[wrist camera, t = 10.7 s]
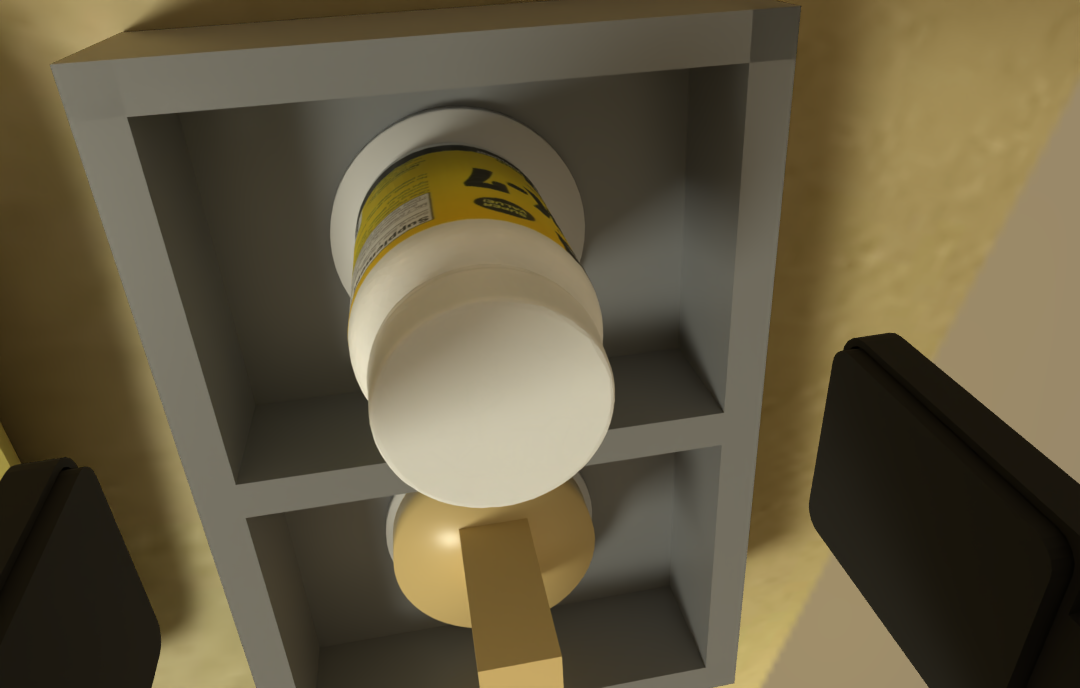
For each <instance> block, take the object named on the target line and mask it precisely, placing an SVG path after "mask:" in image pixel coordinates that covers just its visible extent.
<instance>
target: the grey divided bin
mask: <svg viewBox="0 0 1080 688" xmlns="http://www.w3.org/2000/svg"><path fill="white" fill-rule="evenodd" d="M800 12H801V6H799V5H794V4H790V3H785V2H780V1H775V0H552V1H538V2H525V3H511V4H498V5H484V6H470V7H457V8H443V9H430V10H416V11H403V12H389V13H376V14H362V15H349V16H335V17H321V18H308V19H294V20H281V21H267V22H254V23H240V24H227V25H213V26H199V27H186V28H172V29H159V30H145V31H132V32H121V33H119V34H116V35H114V36H112V37H110V38H107V39H105V40H103V41H101V42H99V43H96V44H94V45H92V46H90V47H87V48H85V49H83V50H81V51H79V52H76V53H74V54H72V55H70V56H67V57H65V58H63V59H61V60H59V61H56V62H54V63H52V64H50V67H51V70H52V73H53V76H54V79H55V82H56V85H57V88H58V91H59V94H60V97H61V100H62V103H63V106H64V109H65V112H66V115H67V118H68V121H69V124H70V127H71V130H72V133H73V136H74V139H75V142H76V145H77V148H78V151H79V154H80V157H81V160H82V163H83V167H84V170H85V173H86V176H87V179H88V182H89V185H90V188H91V191H92V194H93V197H94V200H95V203H96V206H97V209H98V212H99V215H100V218H101V221H102V224H103V227H104V230H105V233H106V236H107V239H108V242H109V245H110V248H111V251H112V254H113V257H114V260H115V263H116V266H117V269H118V272H119V275H120V278H121V281H122V284H123V287H124V290H125V293H126V296H127V299H128V302H129V305H130V308H131V311H132V314H133V317H134V320H135V323H136V326H137V329H138V332H139V335H140V338H141V341H142V344H143V347H144V350H145V354H146V357H147V360H148V363H149V366H150V369H151V372H152V375H153V378H154V381H155V384H156V387H157V390H158V393H159V396H160V399H161V402H162V405H163V408H164V411H165V414H166V417H167V420H168V423H169V426H170V429H171V432H172V435H173V438H174V441H175V444H176V447H177V450H178V453H179V456H180V459H181V462H182V465H183V468H184V471H185V474H186V477H187V480H188V483H189V486H190V489H191V492H192V495H193V498H194V501H195V504H196V507H197V510H198V513H199V516H200V519H201V522H202V525H203V528H204V531H205V534H206V537H207V541H208V544H209V547H210V550H211V553H212V556H213V559H214V562H215V565H216V568H217V571H218V574H219V577H220V580H221V583H222V586H223V589H224V592H225V595H226V598H227V601H228V604H229V607H230V610H231V613H232V616H233V619H234V622H235V625H236V628H237V631H238V634H239V637H240V640H241V643H242V646H243V649H244V652H245V655H246V658H247V661H248V664H249V667H250V670H251V673H252V676H253V679H254V682H255V685H256V688H713V687H718V686H723V685H728V684H733V683H734V681H735V671H736V661H737V651H738V640H739V630H740V620H741V610H742V600H743V590H744V580H745V569H746V559H747V549H748V539H749V529H750V519H751V509H752V499H753V488H754V478H755V468H756V458H757V448H758V438H759V428H760V418H761V407H762V397H763V387H764V377H765V367H766V357H767V347H768V336H769V326H770V316H771V306H772V296H773V286H774V276H775V266H776V255H777V245H778V235H779V225H780V215H781V205H782V195H783V185H784V174H785V164H786V154H787V144H788V134H789V124H790V114H791V103H792V93H793V83H794V73H795V63H796V53H797V43H798V33H799V22H800ZM449 142H456V143H466V144H472V145H476V146H479V147H482V148H485V149H488V150H491V151H493V152H495V153H497V154H499V155H501V156H503V157H504V158H506V159H507V160H509V161H510V162H512V163H513V164H514V165H515V166H517V167H518V168H519V169H520V170H521V171H522V172H523V173H524V174H525V175H526V176H527V177H528V178H529V180H530V181H531V182H532V183H533V185H534V186H535V187H536V189H537V190H538V192H539V194H540V196H541V197H542V199H543V201H544V202H545V204H546V206H547V208H548V209H549V211H550V213H551V215H552V216H553V218H554V219H555V221H556V223H557V225H558V226H559V228H560V230H561V231H562V233H563V235H564V237H565V239H566V240H567V242H568V244H569V245H570V247H571V249H572V251H573V252H574V254H575V255H576V257H577V259H578V261H579V262H580V264H581V265H582V267H583V268H584V269H585V272H586V274H587V276H588V278H589V279H590V281H591V284H592V286H593V288H594V290H595V293H596V296H597V299H598V302H599V306H600V310H601V314H602V322H603V347H604V350H605V352H606V355H607V357H608V360H609V363H610V366H611V368H612V372H613V377H614V384H615V403H614V410H613V415H612V419H611V423H610V426H609V428H608V431H607V433H606V435H605V437H604V439H603V441H602V443H601V445H600V446H599V448H598V450H597V451H596V452H595V454H594V455H593V456H592V458H591V459H590V460H589V462H588V463H587V464H586V465H585V466H584V467H583V468H582V469H581V470H579V471H578V472H577V473H576V474H575V475H574V476H573V477H571V478H570V479H569V480H567V481H566V482H565V483H563V484H561V485H560V486H558V487H557V488H555V489H553V490H551V491H549V492H547V493H545V494H543V495H541V496H539V497H537V498H534V499H531V500H528V501H525V502H521V503H518V504H514V505H509V506H502V507H488V508H470V507H464V506H456V505H451V504H447V503H444V502H440V501H437V500H435V499H432V498H430V497H428V496H426V495H424V494H422V493H420V492H418V491H417V490H415V489H414V488H413V487H411V486H409V485H407V484H406V483H405V482H404V481H402V480H401V479H400V478H399V477H398V476H397V475H396V474H395V473H394V472H393V470H392V469H391V468H390V467H389V466H388V464H387V463H386V461H385V460H384V458H383V457H382V455H381V454H380V452H379V450H378V448H377V446H376V444H375V441H374V438H373V434H372V431H371V427H370V421H369V412H368V400H367V399H366V397H365V396H364V394H363V392H362V390H361V388H360V386H359V384H358V382H357V379H356V377H355V374H354V370H353V367H352V364H351V359H350V352H349V345H348V321H349V310H350V298H351V285H352V272H353V258H354V246H355V231H356V224H357V218H358V213H359V210H360V206H361V204H362V201H363V199H364V197H365V195H366V193H367V191H368V189H369V187H370V186H371V185H372V183H373V182H374V180H375V179H376V178H377V177H378V176H379V174H380V173H381V172H382V171H383V170H384V169H385V168H386V167H388V166H389V165H390V164H391V163H392V162H394V161H395V160H397V159H398V158H399V157H401V156H403V155H405V154H407V153H409V152H411V151H413V150H415V149H418V148H421V147H424V146H428V145H432V144H437V143H449Z"/></svg>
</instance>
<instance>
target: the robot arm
mask: <svg viewBox="0 0 1080 688" xmlns="http://www.w3.org/2000/svg"><path fill="white" fill-rule="evenodd" d="M809 512H810V517H811V520H812V523H813V525H814V527H815V529H816V531H817V532H818V534H819V535H820V536H821V538H822V539H823V541H824V542H825V543H826V545H827V546H828V547H829V549H830V550H831V552H832V553H833V554H834V556H835V557H836V559H837V560H838V561H839V563H840V564H841V565H842V567H843V568H844V570H845V571H846V573H847V574H848V575H849V576H850V578H851V580H852V581H853V582H854V584H855V585H856V587H857V588H858V589H859V591H860V592H861V593H862V595H863V596H864V598H865V599H866V600H867V602H868V603H869V605H870V606H871V607H872V609H873V610H874V612H875V613H876V614H877V616H878V617H879V619H880V620H881V621H882V623H883V624H884V626H885V627H886V628H887V630H888V631H889V633H890V634H891V635H892V637H893V638H894V640H895V641H896V642H897V644H898V645H899V646H900V648H901V649H902V651H903V652H904V653H905V655H906V656H907V658H908V659H909V660H910V662H911V663H912V665H913V666H914V667H915V669H916V670H917V671H918V673H919V674H920V676H921V677H922V679H923V680H924V681H925V683H926V684H927V686H928V687H929V688H1080V484H1079V483H1077V482H1076V481H1075V480H1074V479H1073V478H1071V477H1070V476H1069V475H1068V474H1067V473H1065V472H1064V471H1063V470H1062V469H1061V468H1059V467H1058V466H1057V465H1056V464H1054V463H1053V462H1052V461H1051V460H1050V459H1048V458H1047V457H1046V456H1045V455H1044V454H1042V453H1041V452H1040V451H1039V450H1038V449H1036V448H1035V447H1034V446H1033V445H1032V444H1030V443H1029V442H1028V441H1026V440H1025V439H1024V438H1023V437H1022V436H1021V435H1019V434H1018V433H1017V432H1016V431H1015V430H1013V429H1012V428H1011V427H1010V426H1008V425H1007V424H1006V423H1005V422H1004V421H1002V420H1001V419H1000V418H999V417H998V416H996V415H995V414H994V413H993V412H992V411H990V410H989V409H988V408H987V407H985V406H984V405H983V404H982V403H981V402H979V401H978V400H977V399H976V398H975V397H973V396H972V395H971V394H970V393H969V392H967V391H966V390H965V389H964V388H963V387H961V386H960V385H959V384H958V383H957V382H955V381H954V380H953V379H952V378H951V377H949V376H948V375H947V374H946V373H944V372H943V371H942V370H941V369H940V368H938V367H937V366H936V365H935V364H934V363H932V362H931V361H930V360H929V359H928V358H926V357H925V356H924V355H923V354H921V353H920V352H919V351H918V350H917V349H915V348H914V347H913V346H912V345H911V344H909V343H908V342H907V341H906V340H905V339H903V338H902V337H901V336H899V335H897V334H896V333H885V334H878V335H872V336H865V337H858V338H853V339H851V340H849V341H848V342H847V343H846V345H845V346H844V350H843V351H840V352H838V353H837V354H836V355H835V357H834V360H833V364H832V370H831V376H830V382H829V388H828V393H827V399H826V405H825V411H824V417H823V423H822V429H821V435H820V441H819V447H818V453H817V459H816V465H815V471H814V477H813V482H812V488H811V494H810V500H809ZM160 649H161V634H160V628H159V624H158V621H157V618H156V616H155V614H154V611H153V609H152V607H151V604H150V602H149V600H148V597H147V595H146V592H145V590H144V588H143V585H142V583H141V581H140V578H139V576H138V574H137V571H136V569H135V566H134V564H133V562H132V559H131V557H130V555H129V552H128V550H127V548H126V545H125V543H124V540H123V538H122V536H121V533H120V531H119V529H118V526H117V524H116V522H115V519H114V517H113V514H112V512H111V510H110V507H109V505H108V503H107V500H106V498H105V496H104V493H103V491H102V489H101V486H100V484H99V481H98V479H97V477H96V475H95V473H94V471H93V470H92V469H91V468H89V467H80V468H78V467H77V465H76V463H75V462H74V461H73V460H72V459H70V458H66V457H63V458H57V459H50V460H44V461H37V462H30V463H24V464H17V465H14V466H11V467H10V468H9V469H8V470H7V471H6V472H5V474H4V475H3V477H2V479H1V480H0V688H152V684H153V680H154V676H155V672H156V667H157V663H158V659H159V655H160Z"/></svg>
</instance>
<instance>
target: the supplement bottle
mask: <svg viewBox="0 0 1080 688" xmlns="http://www.w3.org/2000/svg"><path fill="white" fill-rule="evenodd" d="M348 345H349V352H350V359H351V364H352V367H353V370H354V374H355V377H356V379H357V382H358V384H359V386H360V388H361V390H362V392H363V394H364V396H365V397H366V399H367V400H368V412H369V421H370V427H371V431H372V434H373V438H374V441H375V444H376V446H377V448H378V450H379V452H380V454H381V455H382V457H383V458H384V460H385V461H386V463H387V464H388V466H389V467H390V468H391V469H392V470H393V472H394V473H395V474H396V475H397V476H398V477H399V478H400V479H401V480H402V481H404V482H405V483H406V484H407V485H409V486H411V487H413V488H414V489H415V490H417V491H418V492H420V493H422V494H424V495H426V496H428V497H430V498H432V499H435V500H437V501H440V502H444V503H447V504H451V505H456V506H464V507H470V508H488V507H502V506H509V505H514V504H518V503H521V502H525V501H528V500H531V499H534V498H537V497H539V496H541V495H543V494H545V493H547V492H549V491H551V490H553V489H555V488H557V487H558V486H560V485H561V484H563V483H565V482H566V481H567V480H569V479H570V478H571V477H573V476H574V475H575V474H576V473H577V472H578V471H579V470H581V469H582V468H583V467H584V466H585V465H586V464H587V463H588V462H589V460H590V459H591V458H592V456H593V455H594V454H595V452H596V451H597V450H598V448H599V446H600V445H601V443H602V441H603V439H604V437H605V435H606V433H607V431H608V428H609V426H610V423H611V419H612V415H613V410H614V403H615V384H614V377H613V372H612V368H611V366H610V363H609V360H608V357H607V355H606V352H605V350H604V347H603V322H602V314H601V310H600V306H599V302H598V299H597V296H596V293H595V290H594V288H593V286H592V284H591V281H590V279H589V278H588V276H587V274H586V272H585V269H584V268H583V267H582V265H581V264H580V262H579V261H578V259H577V257H576V255H575V254H574V252H573V251H572V249H571V247H570V245H569V244H568V242H567V240H566V239H565V237H564V235H563V233H562V231H561V230H560V228H559V226H558V225H557V223H556V221H555V219H554V218H553V216H552V215H551V213H550V211H549V209H548V208H547V206H546V204H545V202H544V201H543V199H542V197H541V196H540V194H539V192H538V190H537V189H536V187H535V186H534V185H533V183H532V182H531V181H530V180H529V178H528V177H527V176H526V175H525V174H524V173H523V172H522V171H521V170H520V169H519V168H518V167H517V166H515V165H514V164H513V163H512V162H510V161H509V160H507V159H506V158H504V157H503V156H501V155H499V154H497V153H495V152H493V151H491V150H488V149H485V148H482V147H479V146H476V145H472V144H466V143H456V142H449V143H437V144H432V145H428V146H424V147H421V148H418V149H415V150H413V151H411V152H409V153H407V154H405V155H403V156H401V157H399V158H398V159H397V160H395V161H394V162H392V163H391V164H390V165H389V166H388V167H386V168H385V169H384V170H383V171H382V172H381V173H380V174H379V176H378V177H377V178H376V179H375V180H374V182H373V183H372V185H371V186H370V187H369V189H368V191H367V193H366V195H365V197H364V199H363V201H362V204H361V206H360V210H359V213H358V218H357V224H356V231H355V246H354V258H353V272H352V285H351V298H350V310H349V321H348Z"/></svg>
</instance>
